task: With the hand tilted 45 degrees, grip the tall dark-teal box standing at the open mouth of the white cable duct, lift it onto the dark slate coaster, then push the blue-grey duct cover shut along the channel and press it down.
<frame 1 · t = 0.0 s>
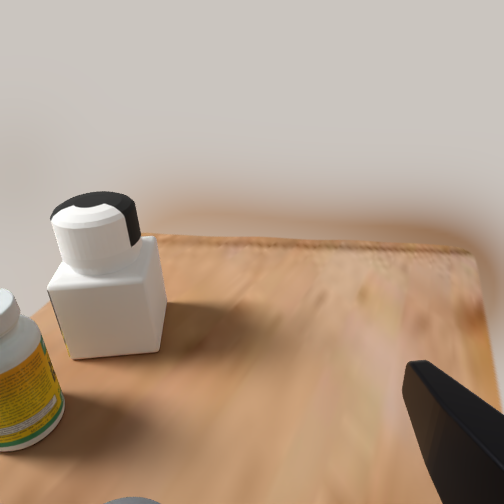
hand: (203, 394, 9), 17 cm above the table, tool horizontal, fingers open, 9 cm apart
medicine bottle: (123, 330, 38), on the table
supplement bottle: (26, 422, 30), on the table
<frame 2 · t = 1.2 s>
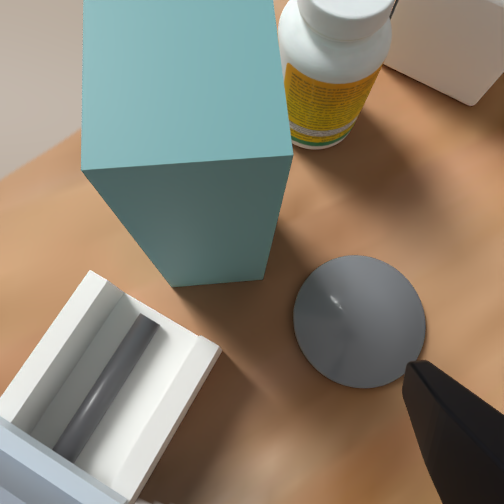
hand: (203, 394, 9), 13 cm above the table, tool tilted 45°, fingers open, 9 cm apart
medicine bottle: (440, 47, 29), on the table
duct: (94, 431, 21), on the table
coaster: (357, 319, 23), on the table
teal box: (214, 239, 24), on the table
supplement bottle: (311, 116, 27), on the table
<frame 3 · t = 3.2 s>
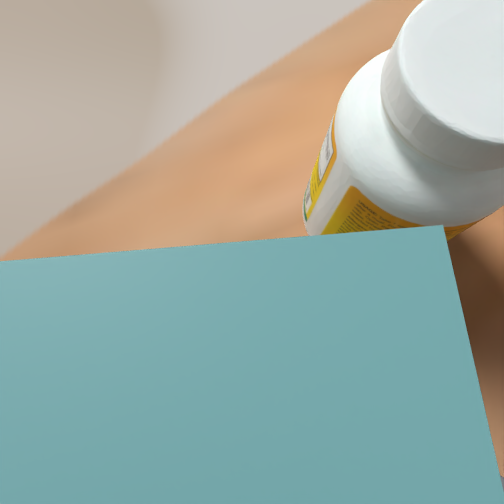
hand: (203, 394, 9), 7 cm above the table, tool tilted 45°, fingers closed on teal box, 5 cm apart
teal box: (221, 425, 16), on the table, touching gripper
supplement bottle: (363, 218, 18), on the table
when the fingers open (8 cm above the table, at t = 7.1 s): teal box stays where it is, resting on coaster.
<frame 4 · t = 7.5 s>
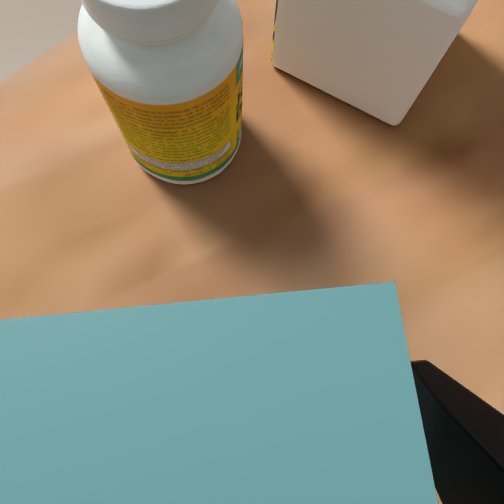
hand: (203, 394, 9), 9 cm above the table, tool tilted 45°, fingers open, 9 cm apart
medicine bottle: (361, 49, 22), on the table
teal box: (218, 425, 17), resting on coaster
supplement bottle: (186, 139, 21), on the table
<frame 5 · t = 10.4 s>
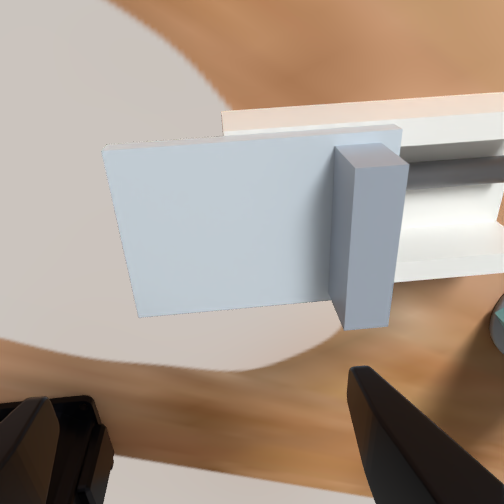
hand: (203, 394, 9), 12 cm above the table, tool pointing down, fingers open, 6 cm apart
cover: (261, 241, 15), point 5 cm above the table, slide at 7.0 cm
duct: (366, 179, 20), on the table
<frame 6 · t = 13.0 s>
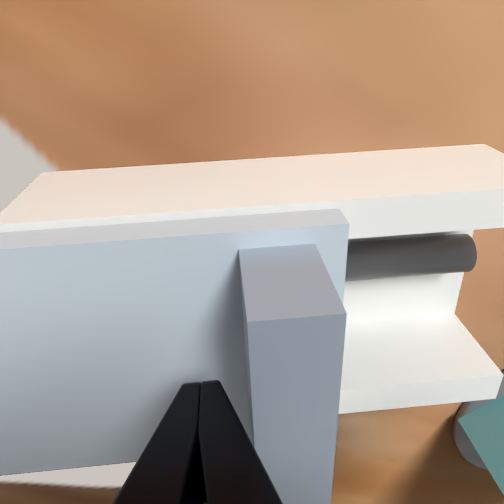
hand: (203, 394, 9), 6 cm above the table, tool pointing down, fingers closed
cover: (126, 394, 10), point 5 cm above the table, slide at 5.4 cm, touching gripper
duct: (271, 260, 14), on the table
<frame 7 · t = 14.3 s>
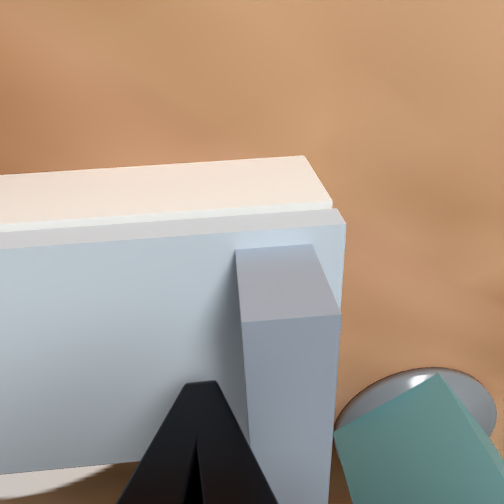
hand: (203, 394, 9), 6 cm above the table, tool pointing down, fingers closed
cover: (123, 394, 10), point 5 cm above the table, slide at 0.0 cm, touching gripper
duct: (104, 273, 14), on the table
coaster: (412, 426, 19), on the table
teal box: (411, 433, 19), resting on coaster
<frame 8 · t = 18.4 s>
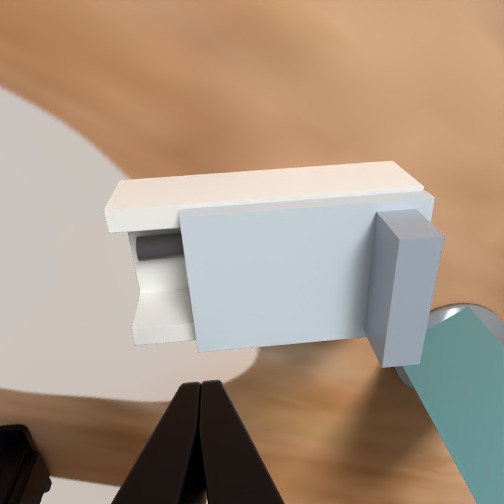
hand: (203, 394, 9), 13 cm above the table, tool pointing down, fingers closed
cover: (311, 291, 18), point 5 cm above the table, slide at 0.0 cm
duct: (261, 235, 22), on the table
coaster: (447, 348, 27), on the table
teal box: (448, 352, 27), resting on coaster
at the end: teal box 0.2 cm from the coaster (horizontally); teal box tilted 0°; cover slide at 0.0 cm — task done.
